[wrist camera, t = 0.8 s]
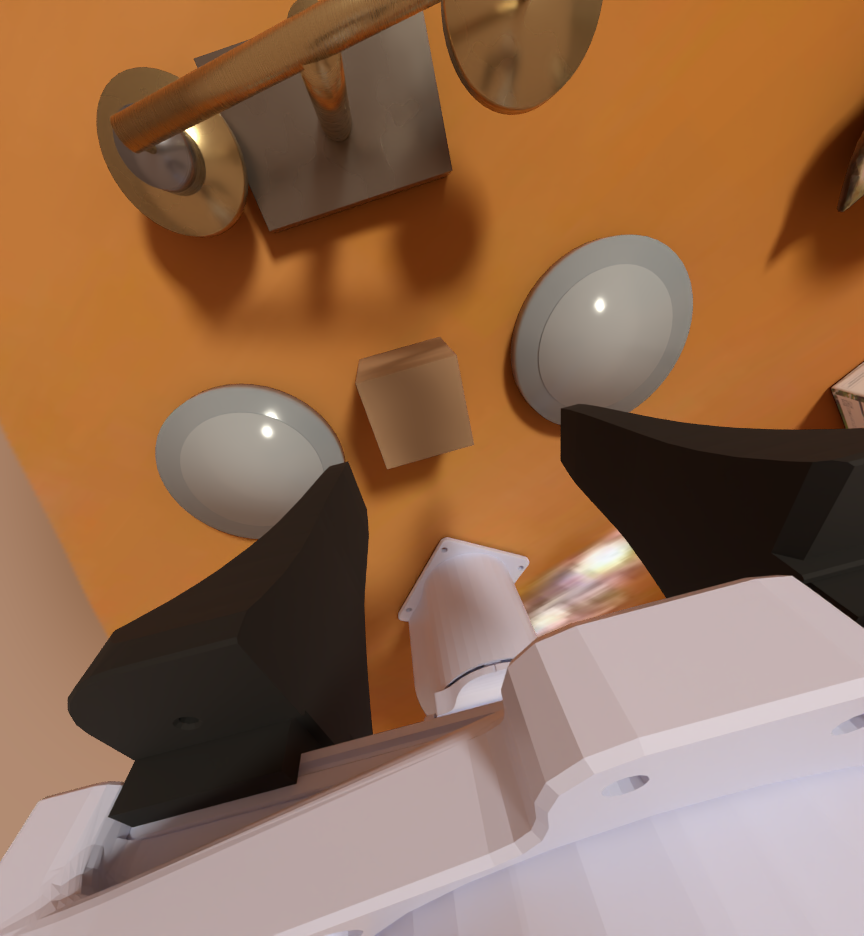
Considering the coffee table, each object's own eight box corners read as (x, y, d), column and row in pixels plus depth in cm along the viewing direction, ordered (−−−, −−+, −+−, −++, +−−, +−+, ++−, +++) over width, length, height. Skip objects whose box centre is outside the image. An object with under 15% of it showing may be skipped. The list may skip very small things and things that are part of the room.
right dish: (604, 441, 23) (614, 448, 22) (479, 388, 20) (484, 393, 19) (714, 291, 19) (732, 292, 18) (579, 193, 16) (592, 189, 15)
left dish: (321, 542, 24) (319, 554, 23) (158, 507, 21) (148, 519, 20) (367, 420, 20) (367, 428, 19) (173, 353, 17) (162, 359, 16)
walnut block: (439, 336, 18) (456, 355, 15) (455, 411, 21) (473, 444, 17) (359, 359, 18) (355, 383, 15) (384, 431, 21) (387, 469, 17)
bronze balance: (520, -35, 12) (728, -464, 5) (535, 146, 15) (685, 36, 8) (103, 108, 13) (-260, -104, 5) (190, 261, 15) (25, 257, 8)
